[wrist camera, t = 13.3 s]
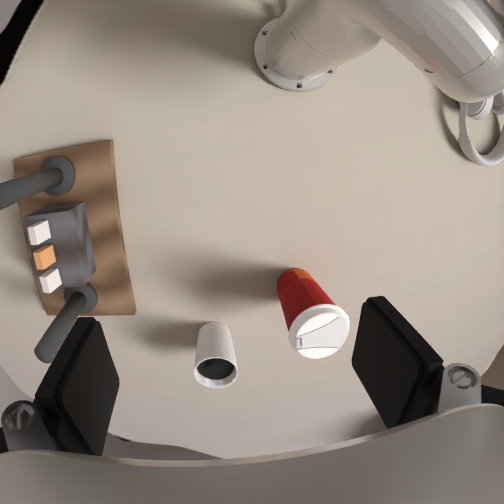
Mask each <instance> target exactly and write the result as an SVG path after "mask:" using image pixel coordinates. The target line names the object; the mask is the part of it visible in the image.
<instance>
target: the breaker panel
mask: <svg viewBox="0 0 504 504" xmlns="http://www.w3.org/2000/svg"><path fill="white" fill-rule="evenodd" d="M55 156H64V157H66V158H68V159H69V160H70V161H71V162H72V163H73V165H74V168H75V172H76V178H75V182H74V185H73V187H72V188H71V190H70V191H69V192H67V193H66V194H63V195H61V196H57V197H55V196H51V195H49V194H48V193H46V192H45V191H43V192H40V193H38V194H36V195H33V196H31V197H29V198H26V199H24V200H22V201H19V207H20V213H21V218H22V224H23V229H24V234H25V238H26V243H27V247H28V252H29V256H30V260H31V264H32V268H33V271H34V275H35V279H36V282H37V286H38V289H39V292H40V295H41V299H42V302H43V305H44V308H45V311H46V314H47V315H58V313H59V312H60V311H61V309H62V308H63V306H64V305H65V304H66V301H65V299H64V290H65V288H66V287H84V286H85V284H86V283H87V282H88V283H90V284H91V285H92V286H93V288H94V289H95V291H96V293H97V297H98V300H97V304H96V306H95V308H94V309H93V311H92V312H90V313H88V314H79V316H96V315H135V313H136V306H135V301H134V296H133V292H132V287H131V281H130V276H129V271H128V265H127V260H126V254H125V248H124V241H123V235H122V228H121V220H120V213H119V204H118V195H117V186H116V175H115V163H114V149H113V140H106V141H100V142H94V143H88V144H83V145H77V146H72V147H67V148H62V149H57V150H53V151H48V152H44V153H39V154H35V155H31V156H27V157H23V158H19V159H15V160H14V168H15V177H16V178H19V177H22V176H26V175H29V174H32V173H36V172H39V171H41V168H42V166H43V164H44V163H45V162H46V161H47V160H48V159H49V158H51V157H55ZM45 220H48V224H49V230H50V235H51V238H49V239H47V240H45V241H44V242H42V243H40V244H38V245H31V242H30V238H29V233H28V228H27V227H29V226H31V225H33V224H35V223H37V222H40V221H45ZM45 245H53V249H54V254H55V258H56V262H54V263H53V264H51V265H50V266H49V267H47V268H46V269H44V270H38V269H37V267H36V263H35V259H34V255H33V252H35V251H37V250H38V249H40V248H42V247H43V246H45ZM51 268H58V271H59V275H60V278H61V282H62V284H61V285H60V286H59V287H57V288H56V289H55V290H54V291H53V292H51V293H44V292H43V289H42V285H41V282H40V278H39V277H40V276H41V275H42V274H44V273H45V272H46V271H48V270H49V269H51Z"/></svg>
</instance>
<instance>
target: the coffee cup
mask: <svg viewBox="0 0 504 504" xmlns="http://www.w3.org/2000/svg"><path fill="white" fill-rule="evenodd" d="M277 290H278V295H279V298H280V302H281V306H282V309H283V312H284V316H285V320H286V324H287V328H288V331H289V342H290V344H291V346H292V348H293V349H294V350H295V351H297V352H298V353H300V354H301V355H303V356H305V357H307V358H313V359H317V358H323V357H326V356H329V355H331V354H333V353H334V352H336V351H337V350H338V349H339V348H340V347H341V346H342V344H343V343H344V342H345V340H346V338H347V335H348V332H349V317H348V315H347V314H346V313H345V312H344V311H343V310H342V309H341V308H340V307H338V306H336V305H335V304H334V303H333V302H332V300H331V299H330V298H329V297H328V296H327V294H326V293H325V292H324V291H323V290H322V288H321V287H320V286H319V285H318V284H317V283H316V282H315V280H314V279H313V278H312V277H311V276H310V275H309V274H308V273H307V272H306V271H304V270H302V269H291V270H288V271H286V272H285V273H283V274H282V275H281V277H280V278H279V280H278V283H277Z"/></svg>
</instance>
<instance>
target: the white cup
mask: <svg viewBox="0 0 504 504" xmlns="http://www.w3.org/2000/svg"><path fill="white" fill-rule="evenodd" d="M237 375H238V368H237V364H236V359H235V354H234V349H233V344H232V338H231V333H230V331H229V328H228V327H227V326H226V325H224V324H222V323H219V322H210V323H206V324H205V325H203V326H202V327H201V328H200V330H199V331H198V340H197V350H196V359H195V370H194V376H195V377H196V379H197V381H198V382H199V383H201V384H202V385H204V386H207V387H210V388H221V387H226V386H228V385H230V384H231V383H233V382H234V381H235V379H236V378H237Z"/></svg>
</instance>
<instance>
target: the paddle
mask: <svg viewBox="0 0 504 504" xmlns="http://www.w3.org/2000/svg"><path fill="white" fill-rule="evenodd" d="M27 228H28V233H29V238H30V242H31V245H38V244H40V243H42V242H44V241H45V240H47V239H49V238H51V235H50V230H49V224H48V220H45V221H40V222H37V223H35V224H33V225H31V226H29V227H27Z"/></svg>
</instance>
